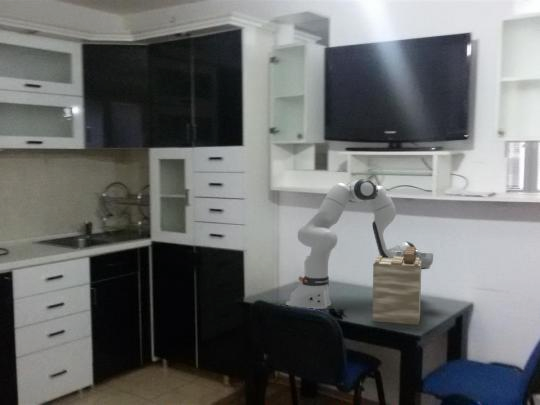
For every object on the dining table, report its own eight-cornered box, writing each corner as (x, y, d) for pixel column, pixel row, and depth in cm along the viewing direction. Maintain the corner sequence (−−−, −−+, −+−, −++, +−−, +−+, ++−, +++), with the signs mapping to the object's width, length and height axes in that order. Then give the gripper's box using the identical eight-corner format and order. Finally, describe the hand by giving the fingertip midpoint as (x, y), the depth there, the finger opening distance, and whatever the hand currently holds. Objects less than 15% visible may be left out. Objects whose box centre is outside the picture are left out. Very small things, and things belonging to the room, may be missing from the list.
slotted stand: (418, 324, 245) (419, 263, 243) (372, 320, 251) (373, 261, 249) (420, 314, 260) (421, 257, 258) (376, 311, 266) (377, 255, 264)
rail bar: (413, 263, 248) (413, 254, 247) (403, 262, 249) (404, 253, 248) (415, 255, 267) (415, 247, 266) (406, 255, 268) (407, 246, 267)
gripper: (390, 254, 279) (388, 244, 267) (433, 256, 273) (433, 246, 261) (389, 266, 277) (387, 256, 265) (433, 269, 271) (432, 259, 259)
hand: (410, 251), depth 263 cm, fingers closed on rail bar, 4 cm apart
